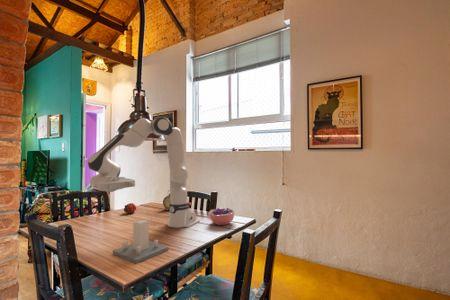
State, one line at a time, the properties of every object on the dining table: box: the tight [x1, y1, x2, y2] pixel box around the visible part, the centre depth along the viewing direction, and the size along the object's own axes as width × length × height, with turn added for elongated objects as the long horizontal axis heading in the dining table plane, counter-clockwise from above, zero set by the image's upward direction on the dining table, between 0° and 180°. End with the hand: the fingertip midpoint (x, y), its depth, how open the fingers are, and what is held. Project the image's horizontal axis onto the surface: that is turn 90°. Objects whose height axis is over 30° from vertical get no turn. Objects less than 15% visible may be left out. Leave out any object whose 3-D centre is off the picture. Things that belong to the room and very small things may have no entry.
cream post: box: [132, 219, 150, 251], centre depth 119 cm, size 5×5×13 cm
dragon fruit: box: [123, 203, 137, 215], centre depth 193 cm, size 8×8×12 cm
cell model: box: [208, 207, 235, 226], centre depth 166 cm, size 17×20×11 cm
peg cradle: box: [112, 239, 169, 264], centre depth 119 cm, size 18×18×5 cm
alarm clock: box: [162, 189, 170, 211], centre depth 204 cm, size 11×5×16 cm, turn 105°
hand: (125, 186), depth 130 cm, fingers open, 8 cm apart
